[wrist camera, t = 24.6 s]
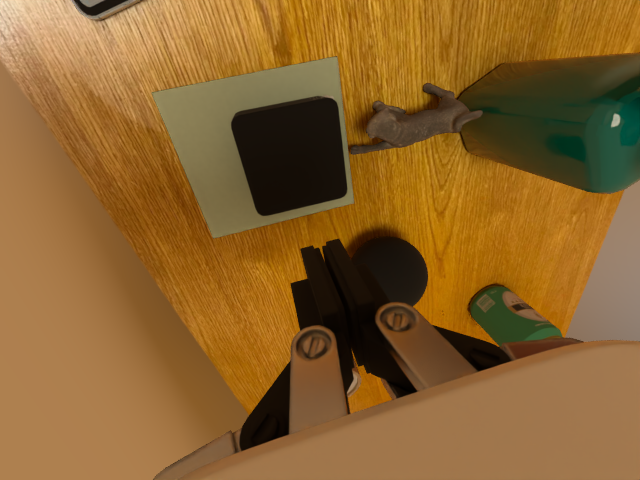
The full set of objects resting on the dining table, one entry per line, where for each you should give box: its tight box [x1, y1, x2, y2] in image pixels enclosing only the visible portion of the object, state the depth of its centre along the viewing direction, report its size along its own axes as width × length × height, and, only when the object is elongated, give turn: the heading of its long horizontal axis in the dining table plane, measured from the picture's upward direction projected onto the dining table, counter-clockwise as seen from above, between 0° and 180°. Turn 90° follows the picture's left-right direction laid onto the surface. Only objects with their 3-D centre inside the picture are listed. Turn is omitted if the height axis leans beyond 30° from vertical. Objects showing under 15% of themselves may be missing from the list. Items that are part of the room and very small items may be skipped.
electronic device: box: [231, 95, 348, 216], centre depth 30 cm, size 4×10×10 cm
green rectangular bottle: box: [458, 52, 640, 194], centre depth 25 cm, size 10×8×22 cm
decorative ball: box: [352, 236, 428, 307], centre depth 37 cm, size 10×10×10 cm
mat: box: [152, 56, 354, 238], centre depth 32 cm, size 18×16×1 cm
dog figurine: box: [351, 83, 482, 154], centre depth 30 cm, size 12×6×7 cm, turn 100°
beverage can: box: [469, 285, 563, 346], centre depth 47 cm, size 8×8×12 cm
